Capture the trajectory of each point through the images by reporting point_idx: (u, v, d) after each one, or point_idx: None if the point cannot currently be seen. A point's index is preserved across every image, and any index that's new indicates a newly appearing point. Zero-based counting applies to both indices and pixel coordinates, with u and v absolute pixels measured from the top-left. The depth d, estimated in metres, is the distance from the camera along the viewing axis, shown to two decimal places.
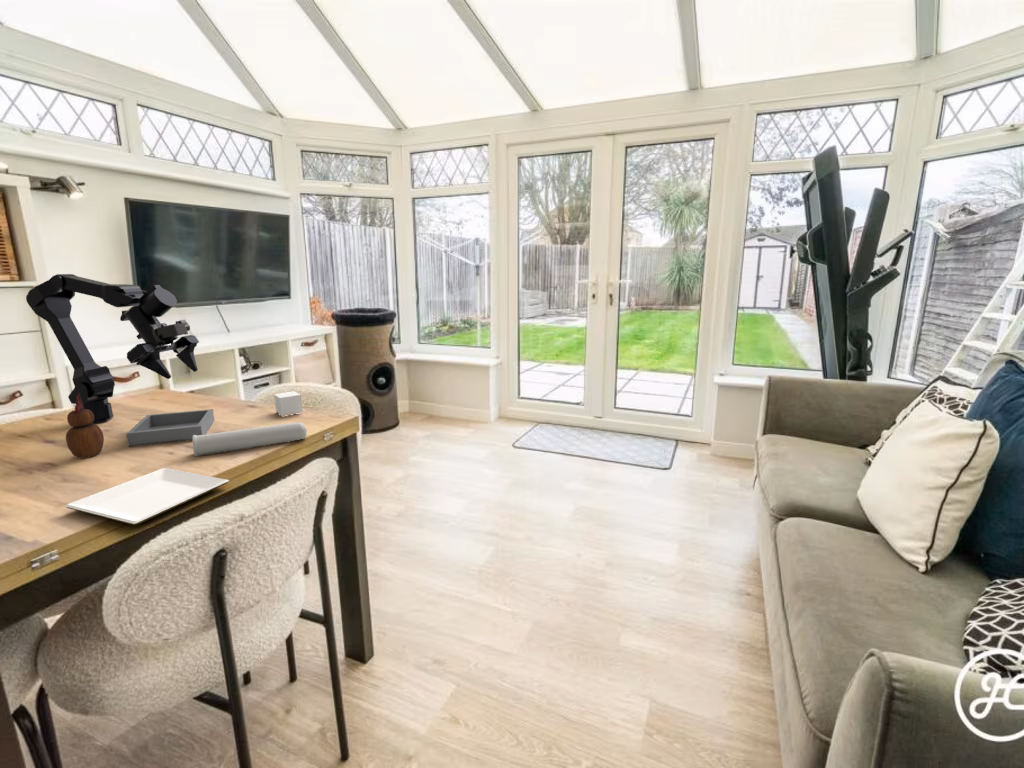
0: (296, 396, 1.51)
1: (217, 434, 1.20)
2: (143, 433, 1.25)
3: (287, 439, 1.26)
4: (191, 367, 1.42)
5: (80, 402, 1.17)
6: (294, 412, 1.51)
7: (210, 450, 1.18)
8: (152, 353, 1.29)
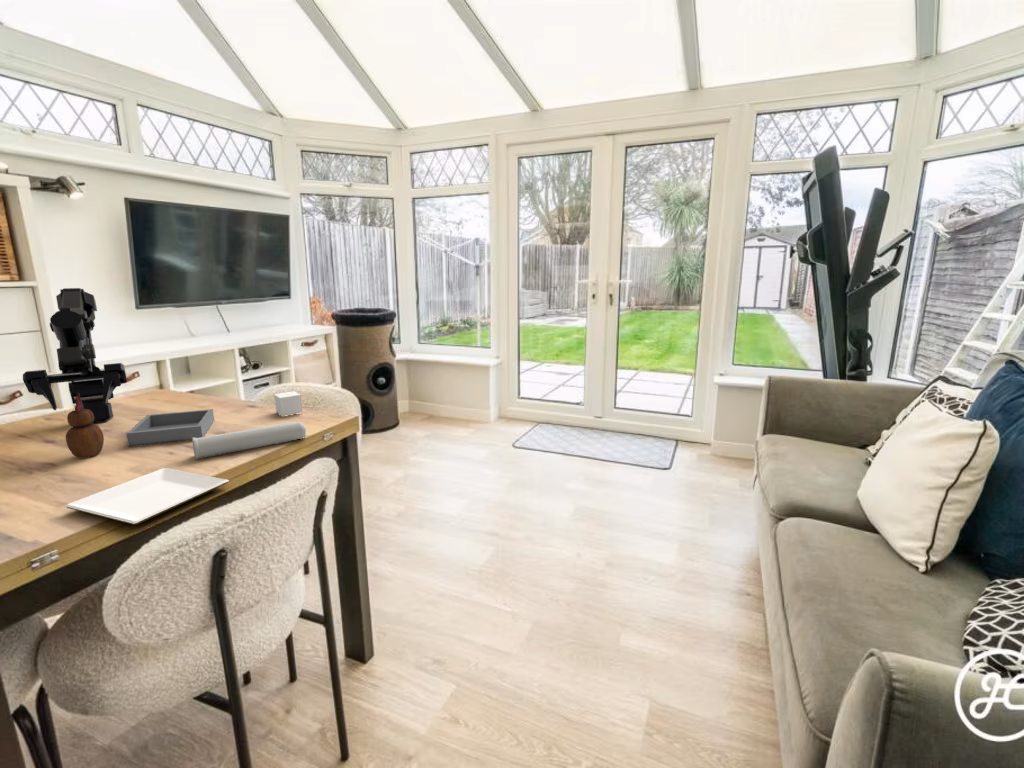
0: (296, 396, 1.51)
1: (217, 436, 1.19)
2: (143, 433, 1.25)
3: (288, 439, 1.27)
4: None
5: (80, 402, 1.17)
6: (294, 412, 1.51)
7: (211, 452, 1.17)
8: (34, 381, 1.16)
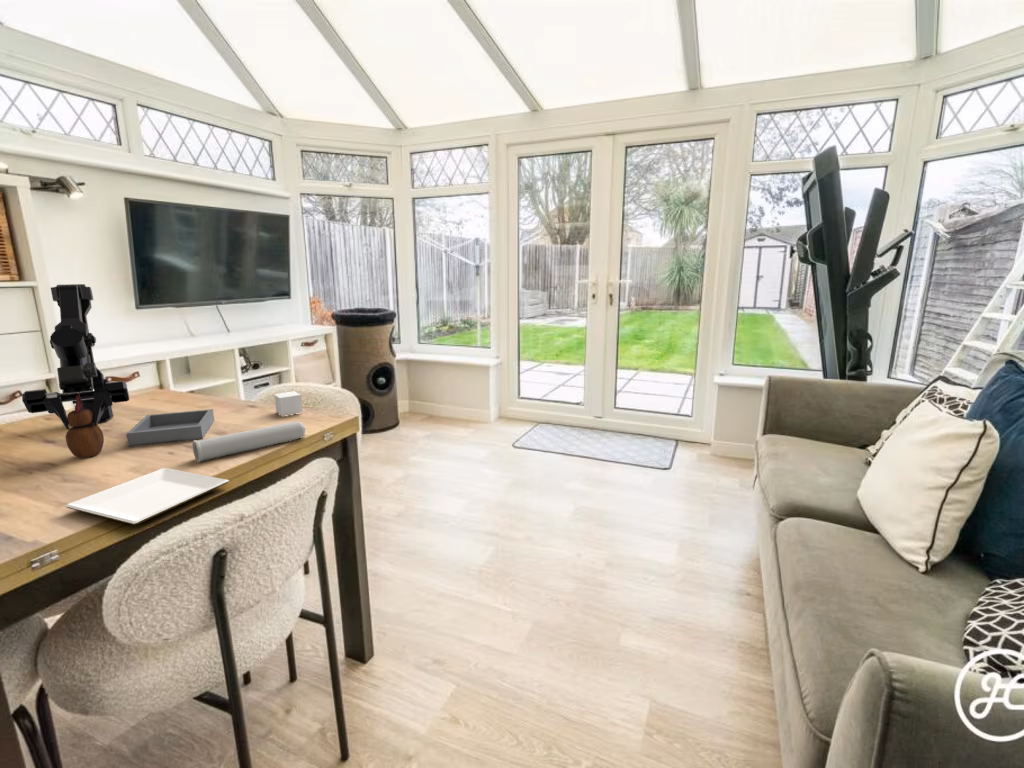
0: (296, 396, 1.51)
1: (219, 438, 1.17)
2: (143, 433, 1.25)
3: (289, 438, 1.27)
4: (94, 420, 1.18)
5: (80, 402, 1.17)
6: (294, 412, 1.51)
7: (214, 454, 1.16)
8: (47, 399, 1.14)
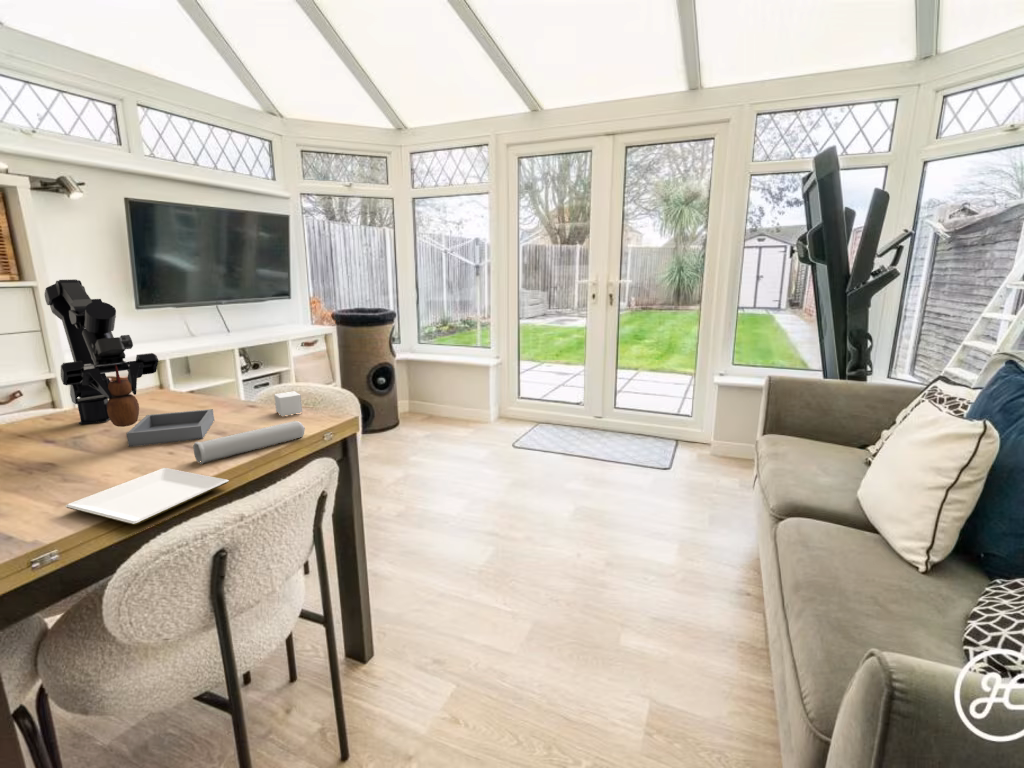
0: (296, 396, 1.51)
1: (221, 439, 1.17)
2: (143, 433, 1.25)
3: (289, 438, 1.27)
4: (132, 390, 1.24)
5: None
6: (294, 412, 1.51)
7: (217, 455, 1.15)
8: (87, 370, 1.17)
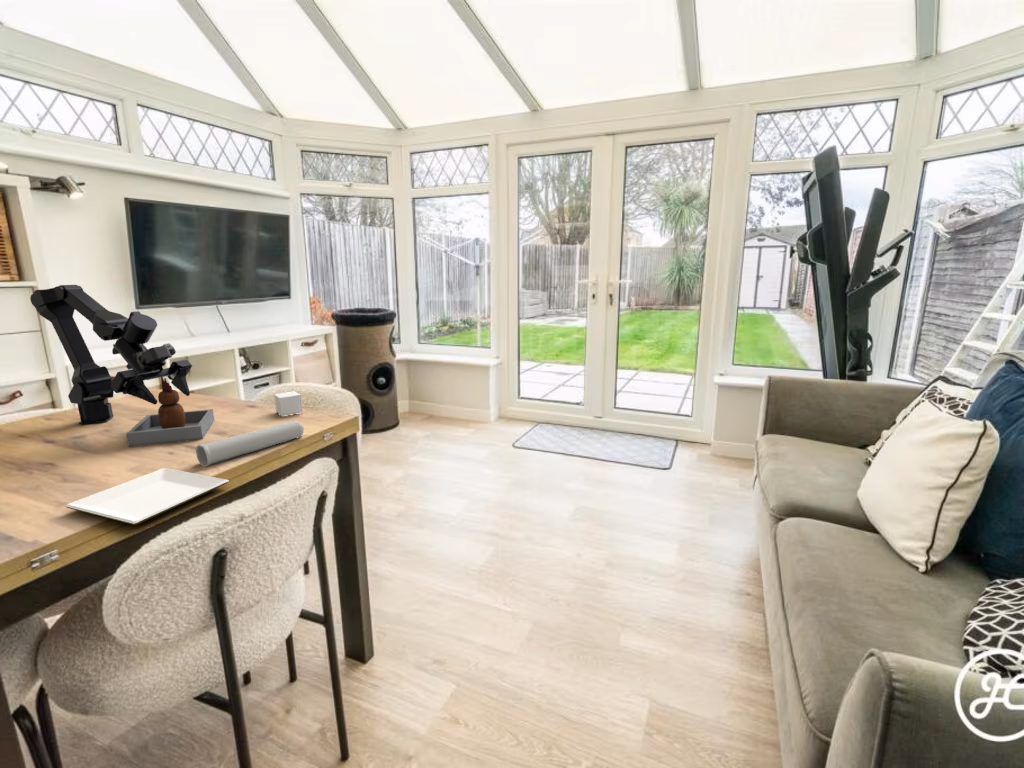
0: (296, 396, 1.51)
1: (224, 440, 1.16)
2: (143, 433, 1.25)
3: (289, 437, 1.27)
4: (184, 391, 1.36)
5: None
6: (294, 412, 1.51)
7: (222, 457, 1.14)
8: (133, 379, 1.25)
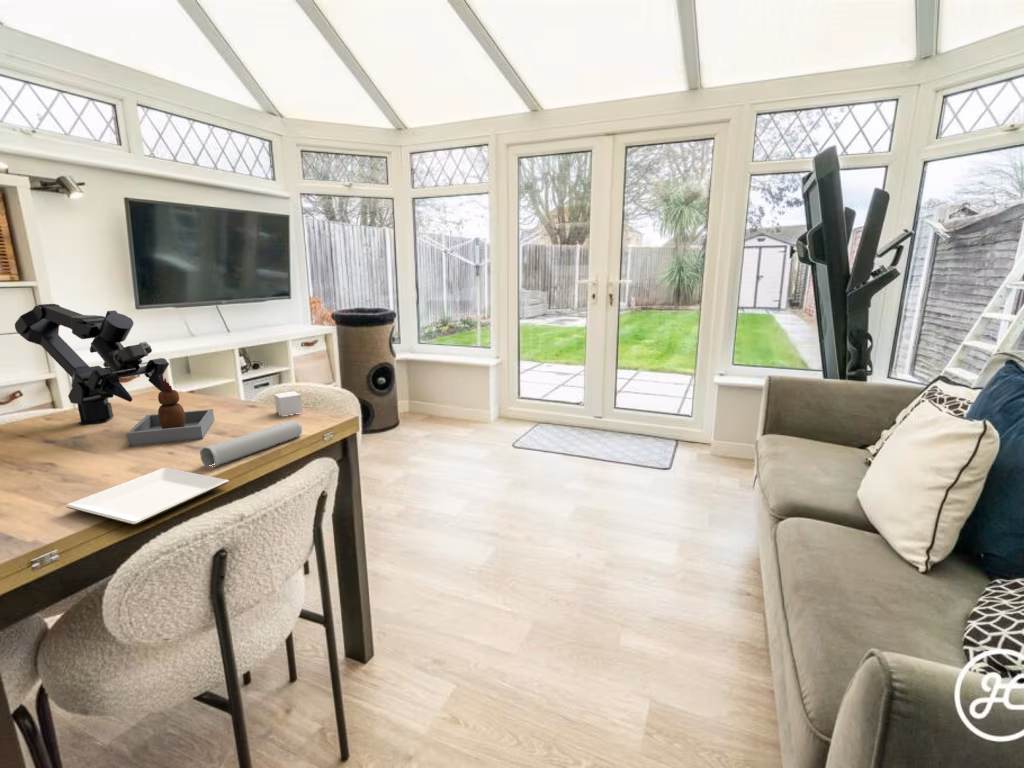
0: (296, 396, 1.51)
1: (229, 441, 1.15)
2: (143, 433, 1.25)
3: (290, 437, 1.28)
4: (160, 389, 1.40)
5: None
6: (294, 412, 1.51)
7: (228, 458, 1.13)
8: (108, 377, 1.28)
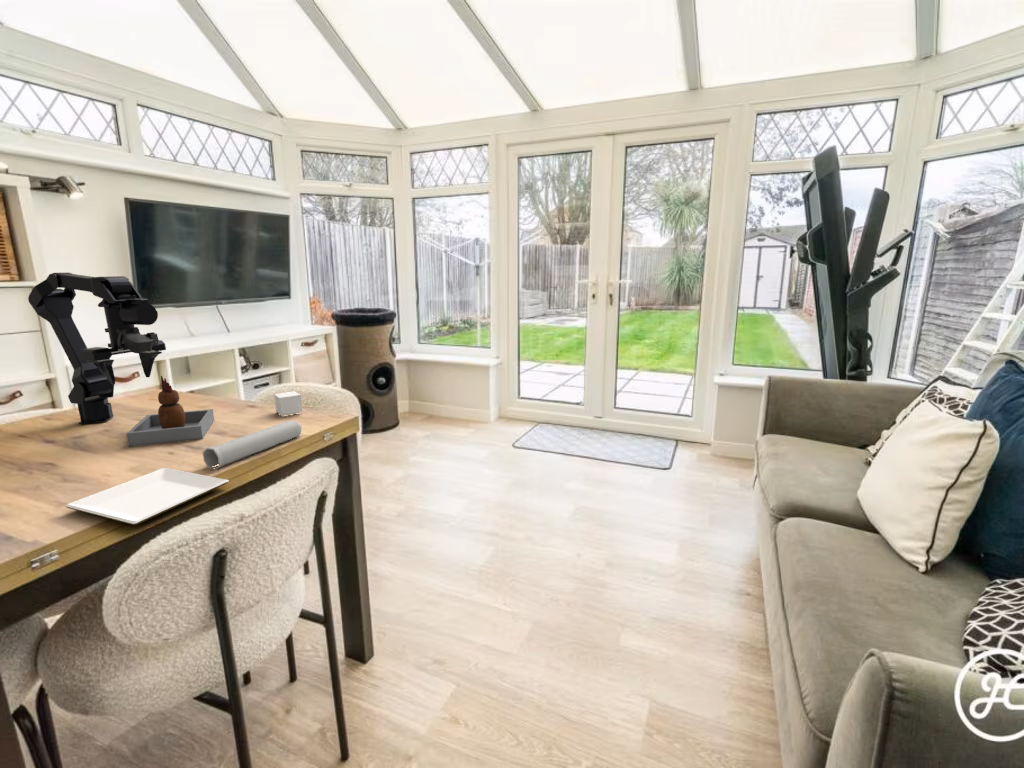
0: (296, 396, 1.51)
1: (231, 442, 1.14)
2: (143, 433, 1.25)
3: (290, 437, 1.28)
4: (145, 372, 1.42)
5: None
6: (294, 412, 1.51)
7: (232, 459, 1.13)
8: (104, 362, 1.29)
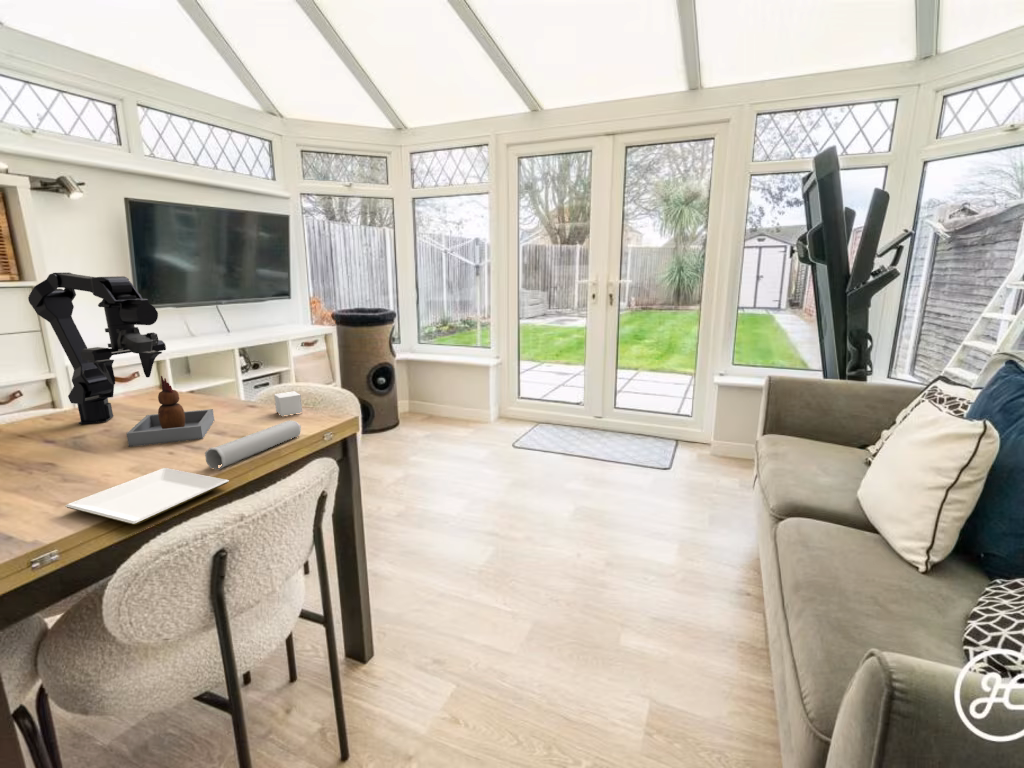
0: (296, 396, 1.51)
1: (233, 442, 1.14)
2: (143, 433, 1.25)
3: (290, 437, 1.28)
4: (145, 372, 1.42)
5: None
6: (294, 412, 1.51)
7: (234, 459, 1.13)
8: (104, 362, 1.29)
